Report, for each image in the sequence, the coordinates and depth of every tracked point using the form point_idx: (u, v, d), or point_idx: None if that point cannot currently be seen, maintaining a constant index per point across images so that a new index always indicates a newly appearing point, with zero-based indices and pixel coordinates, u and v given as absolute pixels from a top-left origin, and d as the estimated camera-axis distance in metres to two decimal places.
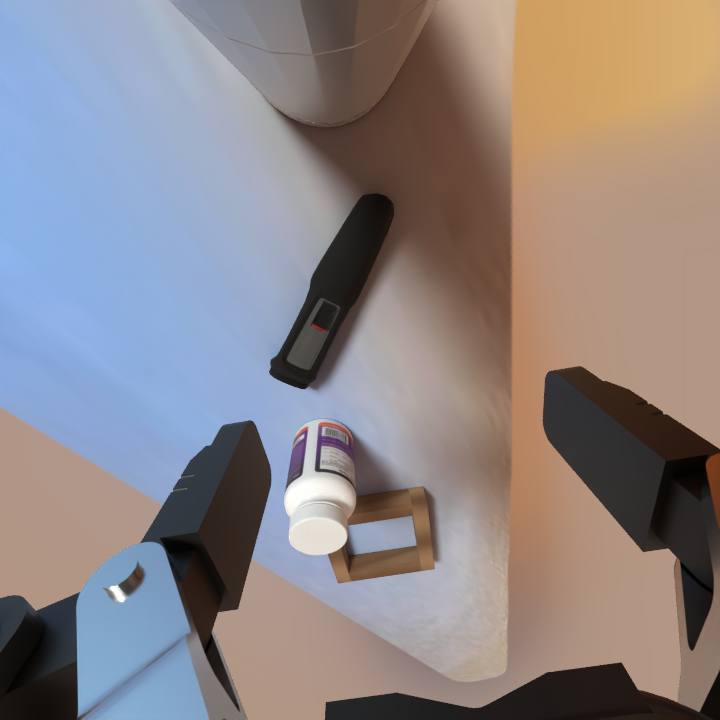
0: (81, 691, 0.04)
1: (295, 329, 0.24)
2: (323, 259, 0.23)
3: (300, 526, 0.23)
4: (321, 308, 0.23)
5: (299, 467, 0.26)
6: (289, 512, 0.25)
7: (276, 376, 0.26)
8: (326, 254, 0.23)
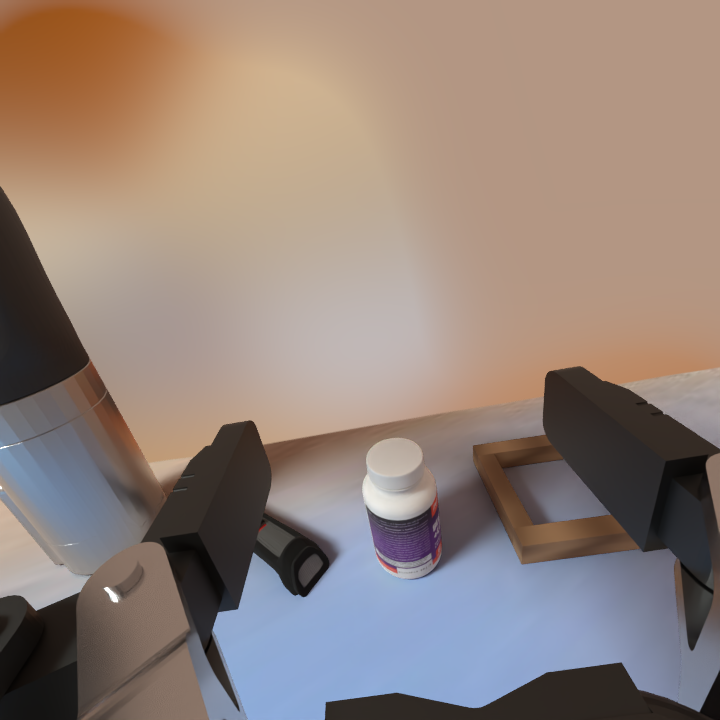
0: (82, 691, 0.04)
1: (256, 546, 0.28)
2: None
3: (374, 467, 0.23)
4: None
5: (369, 516, 0.25)
6: (397, 504, 0.23)
7: (292, 569, 0.26)
8: None
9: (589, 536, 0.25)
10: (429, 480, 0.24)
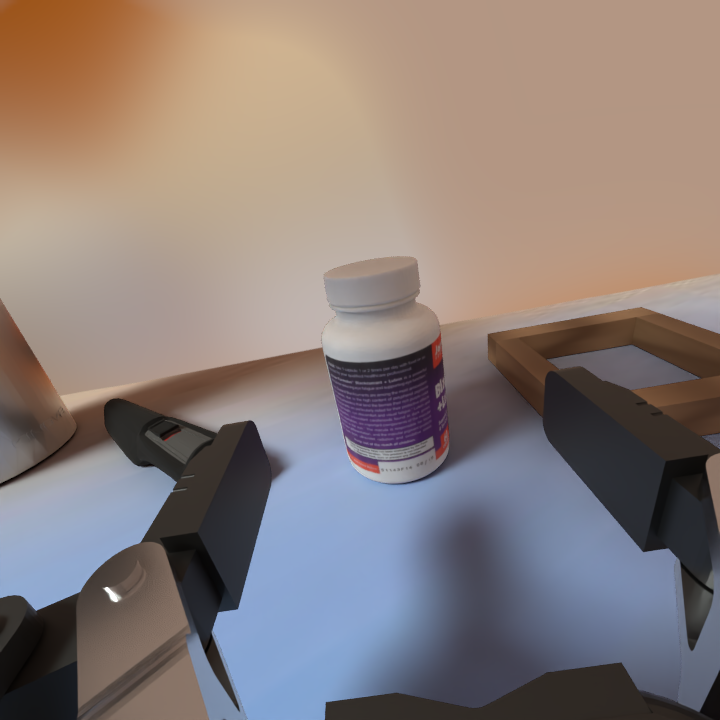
0: (82, 691, 0.04)
1: (158, 455, 0.18)
2: (124, 449, 0.22)
3: (335, 275, 0.14)
4: (153, 429, 0.20)
5: (331, 376, 0.15)
6: (374, 333, 0.13)
7: None
8: (122, 447, 0.22)
9: (690, 401, 0.15)
10: (428, 311, 0.15)
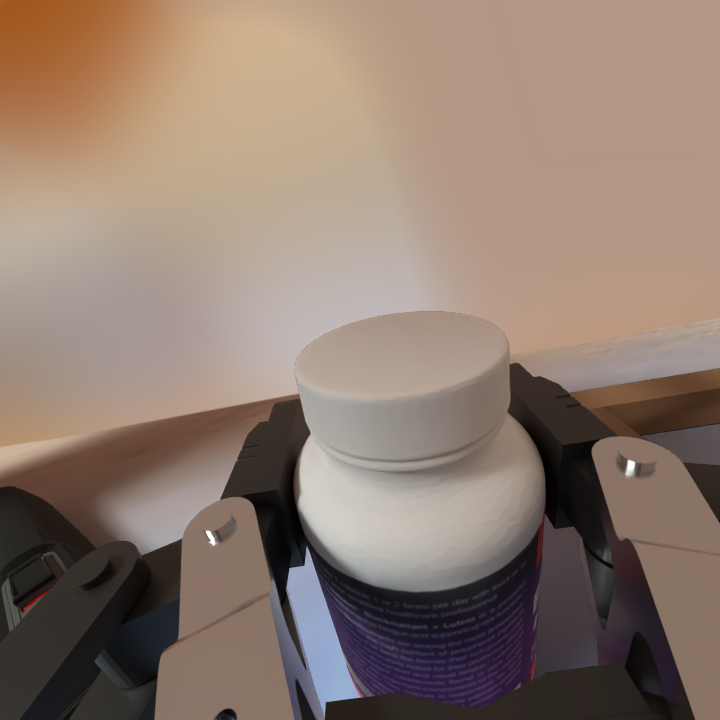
0: (182, 616, 0.05)
1: None
2: None
3: (317, 375, 0.06)
4: (13, 580, 0.12)
5: (313, 563, 0.07)
6: (413, 523, 0.05)
7: None
8: None
9: None
10: (521, 437, 0.07)
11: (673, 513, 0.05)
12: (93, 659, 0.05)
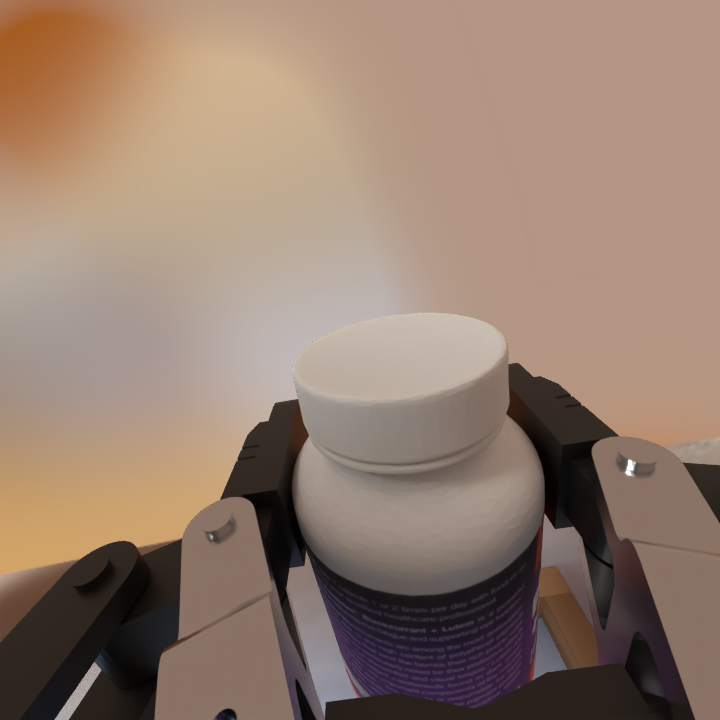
0: (183, 616, 0.05)
1: None
2: None
3: (316, 377, 0.06)
4: None
5: (312, 566, 0.07)
6: (412, 526, 0.05)
7: None
8: None
9: None
10: (521, 440, 0.07)
11: (673, 513, 0.05)
12: (93, 659, 0.05)
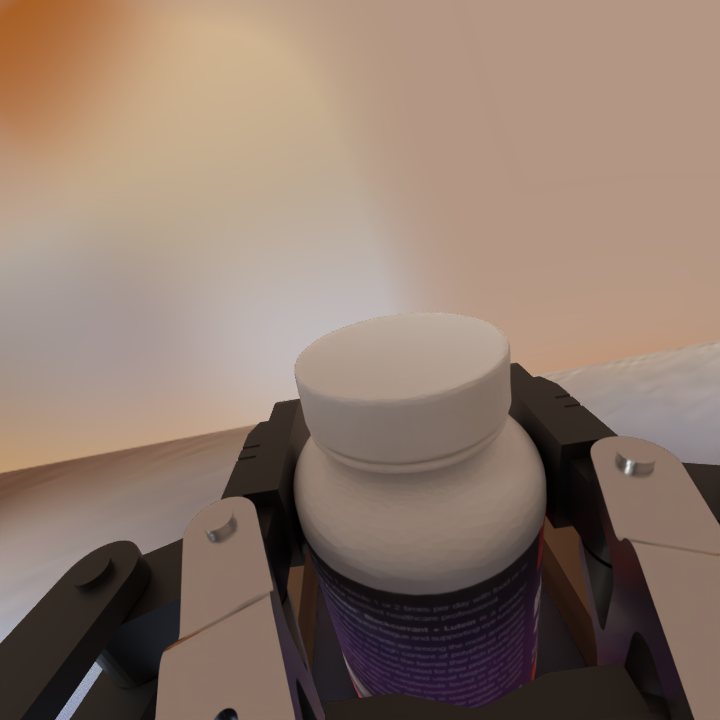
0: (184, 616, 0.05)
1: None
2: None
3: (317, 377, 0.06)
4: None
5: (313, 565, 0.07)
6: (414, 525, 0.05)
7: None
8: None
9: None
10: (522, 439, 0.07)
11: (672, 513, 0.05)
12: (94, 658, 0.05)
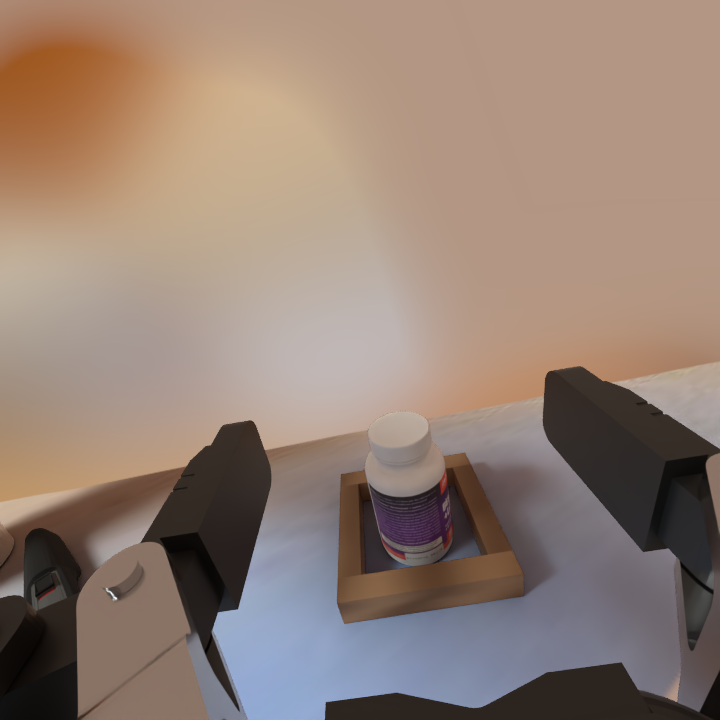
0: (82, 691, 0.04)
1: None
2: None
3: (376, 439, 0.22)
4: (36, 584, 0.26)
5: (372, 496, 0.23)
6: (403, 478, 0.21)
7: None
8: None
9: (416, 589, 0.20)
10: (437, 455, 0.23)
11: None
12: None
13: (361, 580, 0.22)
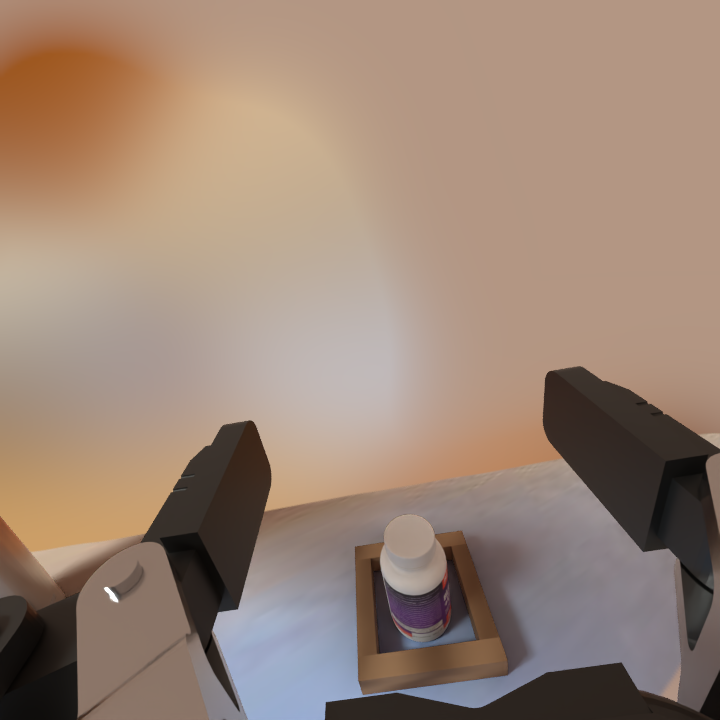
0: (82, 691, 0.04)
1: None
2: None
3: (391, 547, 0.26)
4: None
5: (386, 587, 0.28)
6: (413, 580, 0.26)
7: None
8: None
9: (422, 671, 0.26)
10: (440, 556, 0.27)
11: None
12: None
13: (377, 659, 0.27)
